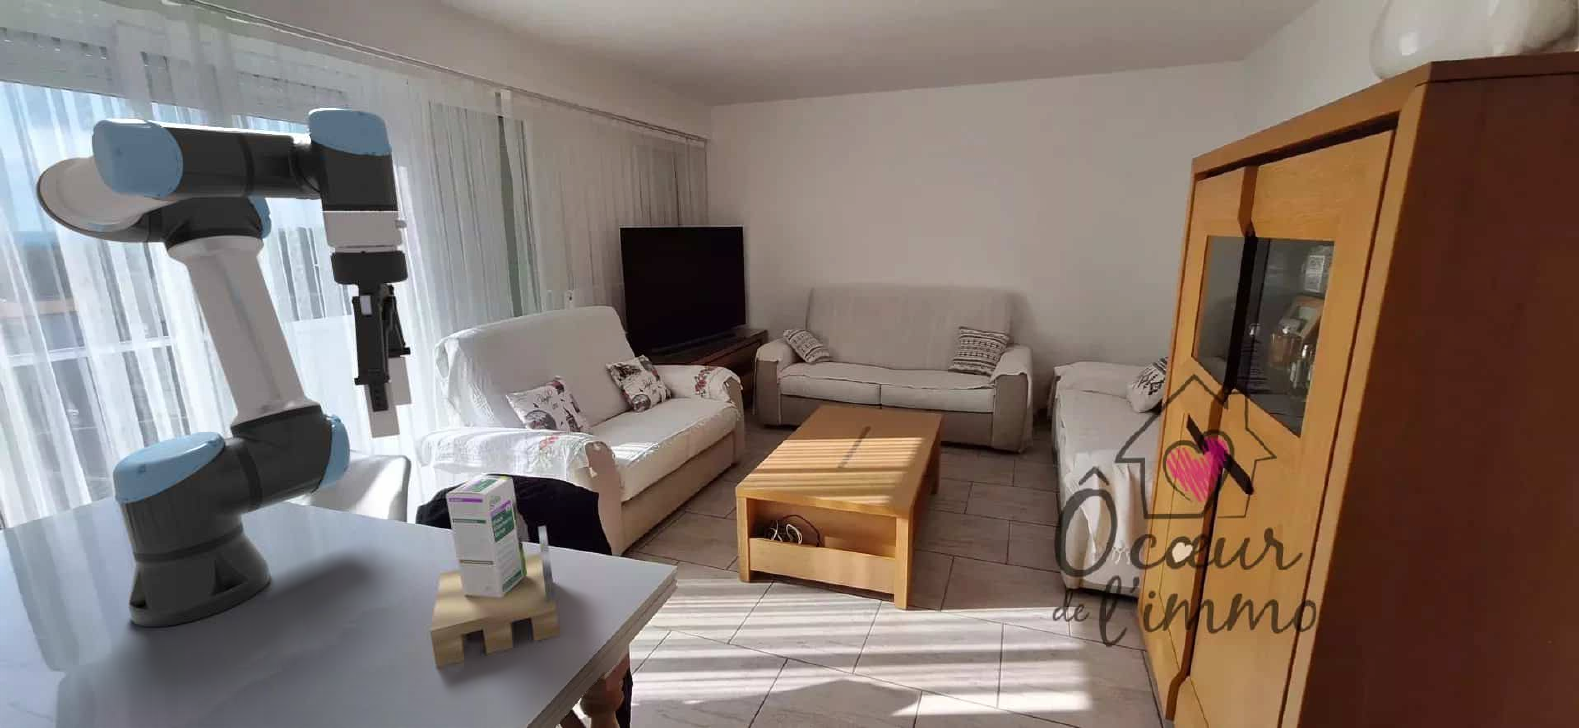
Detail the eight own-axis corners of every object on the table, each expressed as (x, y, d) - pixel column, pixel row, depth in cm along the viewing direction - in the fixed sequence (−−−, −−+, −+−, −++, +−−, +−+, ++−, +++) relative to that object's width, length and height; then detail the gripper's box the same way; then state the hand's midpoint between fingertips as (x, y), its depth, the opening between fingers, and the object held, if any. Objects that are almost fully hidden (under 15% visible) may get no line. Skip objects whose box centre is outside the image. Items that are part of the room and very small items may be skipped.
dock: (446, 605, 89) (436, 547, 87) (552, 581, 94) (545, 525, 92) (436, 667, 76) (424, 600, 74) (559, 635, 82) (551, 571, 80)
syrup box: (502, 599, 81) (486, 493, 78) (461, 596, 82) (444, 491, 79) (528, 575, 87) (514, 475, 83) (489, 572, 88) (474, 473, 85)
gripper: (390, 254, 66) (418, 446, 71) (414, 243, 88) (434, 390, 93) (302, 256, 63) (337, 457, 68) (350, 244, 85) (374, 396, 90)
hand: (393, 419), depth 81 cm, fingers open, 13 cm apart
